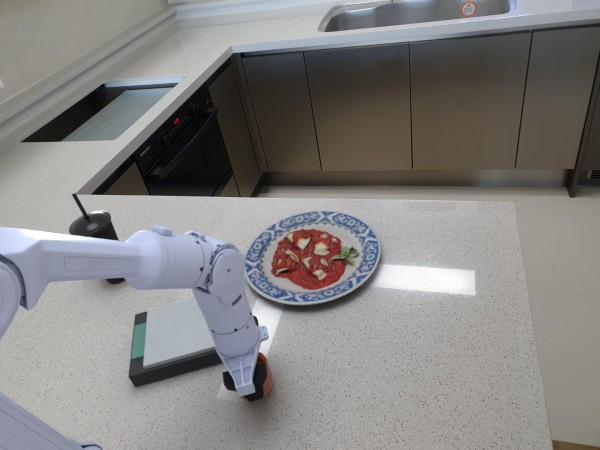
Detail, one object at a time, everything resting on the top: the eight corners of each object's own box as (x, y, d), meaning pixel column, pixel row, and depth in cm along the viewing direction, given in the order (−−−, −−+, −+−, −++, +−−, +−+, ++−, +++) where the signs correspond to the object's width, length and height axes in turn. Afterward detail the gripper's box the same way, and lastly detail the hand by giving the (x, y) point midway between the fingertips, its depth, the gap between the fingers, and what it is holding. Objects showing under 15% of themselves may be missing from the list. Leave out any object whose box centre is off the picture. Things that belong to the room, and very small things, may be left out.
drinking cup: (143, 261, 95) (102, 180, 83) (128, 288, 89) (82, 205, 77) (110, 263, 97) (66, 183, 85) (93, 289, 91) (42, 208, 79)
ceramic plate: (219, 294, 84) (215, 282, 82) (283, 211, 101) (281, 200, 99) (352, 329, 73) (350, 316, 71) (398, 229, 90) (397, 217, 88)
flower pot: (239, 407, 64) (230, 389, 61) (235, 374, 68) (227, 356, 66) (276, 396, 64) (270, 377, 62) (270, 364, 69) (264, 345, 66)
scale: (135, 387, 71) (126, 373, 69) (140, 324, 81) (133, 311, 79) (230, 360, 72) (224, 346, 70) (223, 302, 82) (218, 288, 80)
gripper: (269, 353, 52) (290, 417, 60) (252, 270, 63) (272, 333, 71) (207, 370, 51) (237, 433, 59) (202, 283, 63) (228, 345, 71)
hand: (253, 379), depth 65 cm, fingers closed on flower pot, 5 cm apart
